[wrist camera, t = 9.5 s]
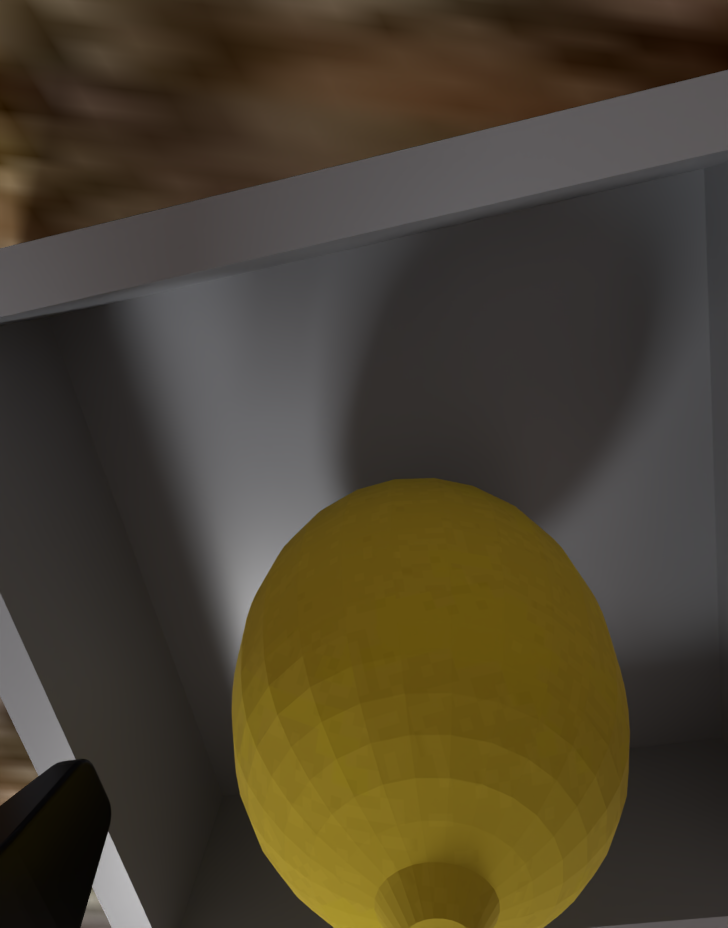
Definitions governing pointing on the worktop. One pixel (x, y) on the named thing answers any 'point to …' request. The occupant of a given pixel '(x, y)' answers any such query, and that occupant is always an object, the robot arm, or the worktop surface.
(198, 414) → the box
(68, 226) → the worktop surface
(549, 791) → the lemon
